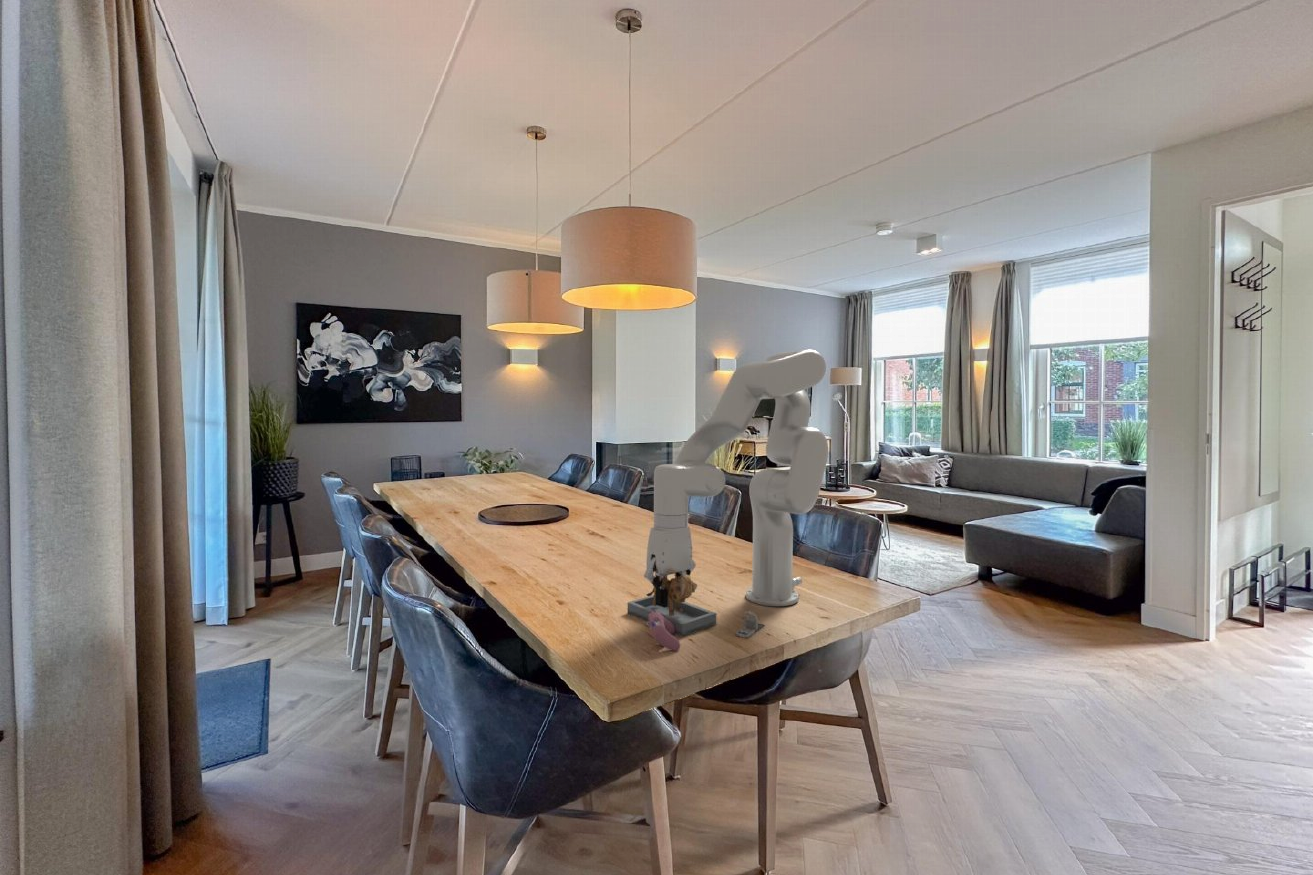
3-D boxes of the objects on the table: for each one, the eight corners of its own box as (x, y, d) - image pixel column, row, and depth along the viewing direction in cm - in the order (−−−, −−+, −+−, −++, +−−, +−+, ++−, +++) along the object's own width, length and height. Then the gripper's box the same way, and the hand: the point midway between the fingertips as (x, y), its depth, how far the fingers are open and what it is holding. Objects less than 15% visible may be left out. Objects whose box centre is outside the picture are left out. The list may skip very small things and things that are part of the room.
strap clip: (747, 640, 118) (748, 619, 118) (734, 637, 120) (734, 616, 120) (765, 627, 125) (766, 607, 125) (752, 624, 127) (753, 605, 127)
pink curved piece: (656, 640, 122) (641, 610, 121) (676, 629, 122) (661, 600, 121) (661, 660, 112) (644, 628, 111) (682, 649, 112) (666, 617, 111)
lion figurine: (699, 615, 127) (701, 575, 126) (681, 621, 123) (683, 580, 122) (654, 595, 138) (655, 557, 137) (637, 600, 134) (638, 562, 133)
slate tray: (660, 603, 140) (660, 593, 139) (716, 624, 126) (716, 613, 126) (627, 613, 133) (627, 602, 133) (682, 636, 119) (682, 624, 119)
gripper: (686, 514, 137) (686, 591, 138) (629, 523, 126) (629, 607, 127) (710, 518, 131) (709, 599, 132) (652, 528, 120) (652, 616, 121)
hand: (670, 602), depth 129 cm, fingers closed on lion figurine, 4 cm apart
